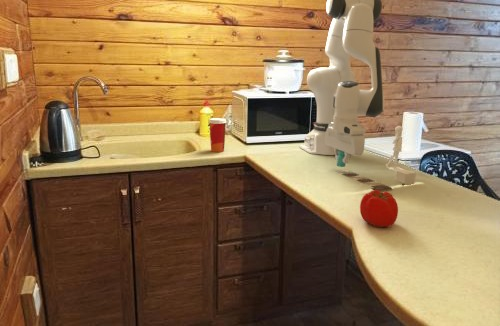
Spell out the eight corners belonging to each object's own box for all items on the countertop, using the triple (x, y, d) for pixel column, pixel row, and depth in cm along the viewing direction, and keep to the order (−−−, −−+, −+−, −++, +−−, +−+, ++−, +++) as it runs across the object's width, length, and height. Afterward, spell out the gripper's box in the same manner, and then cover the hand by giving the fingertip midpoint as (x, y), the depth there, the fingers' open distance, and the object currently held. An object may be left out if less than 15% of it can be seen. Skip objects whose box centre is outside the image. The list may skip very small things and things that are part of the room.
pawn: (335, 165, 158) (336, 148, 156) (342, 164, 159) (343, 147, 157) (340, 167, 155) (341, 150, 153) (347, 166, 156) (348, 149, 154)
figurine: (405, 173, 159) (410, 127, 155) (384, 172, 161) (388, 126, 156) (402, 168, 167) (407, 124, 162) (381, 167, 168) (386, 123, 164)
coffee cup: (216, 148, 198) (216, 117, 194) (229, 150, 193) (230, 119, 190) (204, 151, 191) (204, 119, 188) (218, 153, 187) (218, 121, 183)
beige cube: (395, 182, 148) (396, 170, 147) (404, 181, 150) (405, 169, 149) (404, 186, 144) (406, 173, 143) (413, 184, 146) (415, 172, 145)
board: (334, 173, 158) (334, 171, 157) (347, 171, 160) (347, 170, 160) (378, 191, 137) (378, 189, 136) (391, 189, 139) (392, 187, 139)
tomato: (376, 234, 104) (379, 202, 101) (349, 219, 113) (351, 189, 111) (408, 228, 108) (411, 197, 105) (379, 214, 117) (382, 185, 115)
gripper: (322, 121, 161) (319, 155, 164) (354, 131, 143) (350, 169, 146) (335, 120, 163) (332, 154, 167) (369, 130, 145) (365, 167, 149)
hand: (341, 161), depth 157 cm, fingers closed on pawn, 3 cm apart
